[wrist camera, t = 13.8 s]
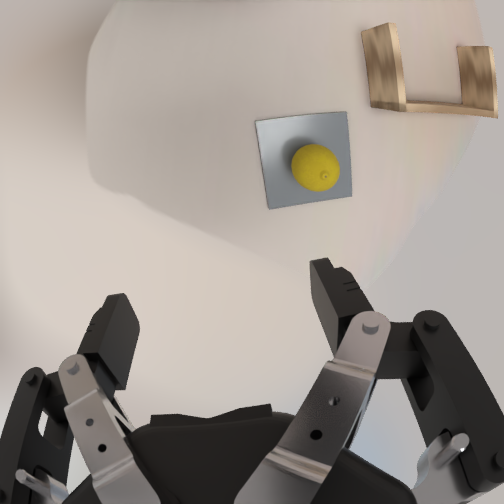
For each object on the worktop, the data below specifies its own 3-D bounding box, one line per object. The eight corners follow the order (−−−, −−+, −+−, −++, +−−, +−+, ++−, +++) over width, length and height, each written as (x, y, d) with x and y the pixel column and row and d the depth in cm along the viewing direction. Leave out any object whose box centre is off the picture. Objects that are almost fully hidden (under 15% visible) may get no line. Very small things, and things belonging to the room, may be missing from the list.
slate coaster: (255, 121, 35) (255, 121, 34) (345, 111, 35) (346, 112, 34) (268, 208, 41) (269, 209, 40) (350, 195, 41) (352, 196, 40)
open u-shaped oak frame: (361, 32, 29) (388, 22, 23) (460, 47, 29) (492, 47, 22) (371, 107, 34) (399, 111, 28) (466, 110, 34) (497, 118, 28)
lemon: (277, 165, 37) (290, 182, 30) (302, 131, 35) (321, 140, 28) (310, 188, 39) (329, 210, 32) (334, 155, 37) (359, 170, 30)
